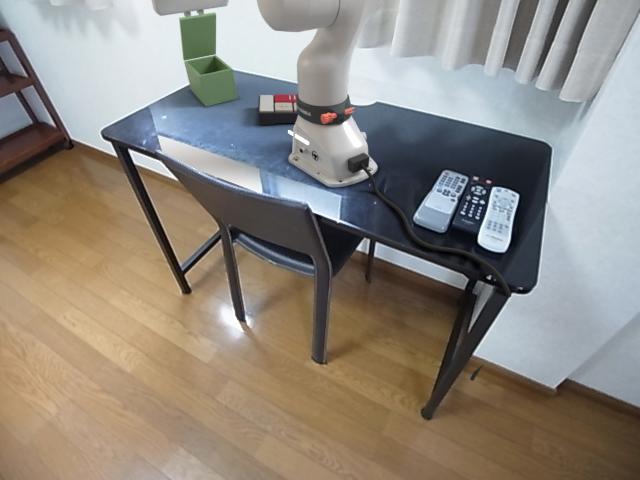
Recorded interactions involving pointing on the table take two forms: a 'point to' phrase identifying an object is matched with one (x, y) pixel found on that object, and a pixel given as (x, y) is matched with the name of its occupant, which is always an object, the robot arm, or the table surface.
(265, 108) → the black rectangular box
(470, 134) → the table surface
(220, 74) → the chest
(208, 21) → the lid
